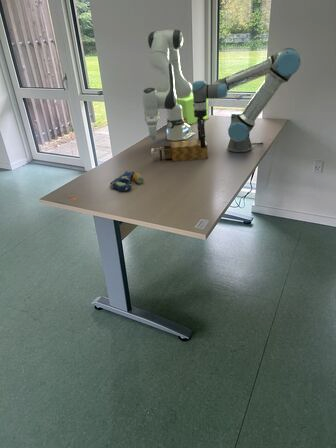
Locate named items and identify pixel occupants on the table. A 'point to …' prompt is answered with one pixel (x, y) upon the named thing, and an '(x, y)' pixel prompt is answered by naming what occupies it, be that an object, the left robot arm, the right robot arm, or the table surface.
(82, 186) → the table surface
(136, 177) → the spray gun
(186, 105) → the lime green box
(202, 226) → the table surface
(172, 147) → the wicker basket box
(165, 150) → the drawer
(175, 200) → the table surface
